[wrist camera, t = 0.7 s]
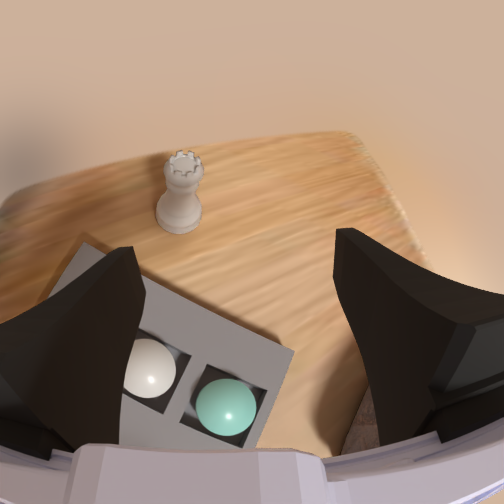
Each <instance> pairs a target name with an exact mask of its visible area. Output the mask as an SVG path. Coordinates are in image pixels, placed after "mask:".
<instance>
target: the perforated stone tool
mask: <svg viewBox="0 0 504 504" xmlns="http://www.w3.org/2000/svg"><path fill="white" fill-rule="evenodd" d="M378 447H380V443H379V436H378V428H377V422H376V416H375V410H374V405H373V400H372V395H371V391H370V386H368V388H367V390H366V393H365V395H364V397H363V399H362V402H361V404H360V406H359V409H358V411H357V413H356V416H355V418H354V420H353V423H352V425H351V428H350V431H349V432H348V434H347V437H346V441H345V444H344V446H343V449H342V452H341V455H346V454H351V453H356V452H360V451H365V450H369V449H374V448H378Z"/></svg>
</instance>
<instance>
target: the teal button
mask: <svg viewBox="0 0 504 504" xmlns="http://www.w3.org/2000/svg"><path fill="white" fill-rule="evenodd" d="M195 409H196V414H197V417H198V419H199V420H200V422H201V423H202V424H203V426H205V427H206V428H207V429H208V430H210V431H211V432H213V433H215V434H218V435H223V436H231V435H235V434H238V433H241V432H242V431H244V430H245V429H246V428H248V427H249V425H250V424H251V423H252V421H253V419H254V417H255V414H256V402H255V398H254V396H253V394H252V392H251V391H250V390H249V388H248V387H247V386H245V385H244V384H243V383H241V382H239V381H236V380H233V379H219V380H216V381H213V382H210V383H209V384H207V385H206V386H204V387H203V388H202V389H201V391H200V392H199V394H198V396H197V398H196V404H195Z"/></svg>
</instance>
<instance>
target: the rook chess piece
mask: <svg viewBox="0 0 504 504" xmlns="http://www.w3.org/2000/svg"><path fill="white" fill-rule="evenodd" d="M163 173H164V175H165V178H166V182H165V184H166V186H167V190H166V192H165V193H164V194H163V195H162V196H161V197H160V199H159V201H158V203H157V208H156V219H157V221H158V224H159V225H160V226H161V227H162V228H163V229H164V230H166V231H168V232H171V233H173V234H184V233H187V232H190V231H192V230H193V229H194V228H196V227H197V226H198V224H199V222H200V220H201V214H202V205H201V202H200V200H199V198H198V197H197V195H196V190H197V188H198V186H199V181H200V180H201V179H202V177H203V175H204V167H203V165H202V163H201V160H200V158H199V156H198V157H196V158H195V157H194V152H191V151H188V154H183V150H181V151H177V152H176V156H174V155H171V157H170V158H169V160H167V162H166V163H165V165H164V169H163Z"/></svg>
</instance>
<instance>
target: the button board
mask: <svg viewBox="0 0 504 504" xmlns="http://www.w3.org/2000/svg"><path fill="white" fill-rule="evenodd" d="M104 256H106V254H104V253H103V252H101V251H99V250H97V249H96V248H94V247H92V246H91V245H89V244H87V243H86V242H83V244H82V245H81V247H80V248H79V250H78V251H77V253H76V254H75V255H74V257H73V258H72V260H71V261H70V263H69V264H68V266H67V268H66V269H65V271H64V272H63V274H62V275H61V277H60V278H59V280H58V282H57V283H56V285H55V286H54V288H53V290H52V291H51V293H50V295H49V296H48V298H50V297H51V296H53V295H54V294H55V293H57V292H58V291H60V290H61V289H63V288H64V287H65V286H66V285H68V284H69V283H70V282H72V281H73V280H74V279H76V278H77V277H79V276H80V275H81V274H82V273H84V272H85V271H86V270H87V269H89V268H90V267H91V266H93V265H94V264H95V263H96V262H98V261H99V260H100V259H102V258H103V257H104ZM141 276H142V279H143V283H144V286H145V289H146V298H145V304H144V310H143V315H142V318H141V322H140V325H139V328H138V332H137V335H136V338H135V340H138V339H151V340H154V341H157V342H159V343H161V344H162V345H164V346H165V347H166V348H167V349H168V350H169V352H170V353H171V355H172V356H173V359H174V361H175V366H176V374H175V378H174V381H173V383H172V385H171V387H170V388H169V389H168V390H167V391H166V392H165V393H163V394H161V395H159V396H157V397H152V398H143V397H139V396H136V395H134V394H132V393H130V392H129V391H128V390H127V389H126V388H125V387H124V386H123V393H122V402H121V413H120V430H119V445H125V446H134V447H145V448H160V449H181V450H230V449H251V448H255V446H256V444H257V442H258V440H259V437H260V435H261V433H262V431H263V428H264V426H265V424H266V421H267V419H268V417H269V414H270V412H271V410H272V407H273V405H274V402H275V400H276V398H277V395H278V393H279V390H280V388H281V385H282V383H283V380H284V378H285V375H286V373H287V370H288V368H289V365H290V362H291V360H292V357H293V355H294V352H295V351H293V350H291V349H289V348H286V347H284V346H282V345H280V344H278V343H276V342H273V341H271V340H269V339H267V338H265V337H263V336H260V335H258V334H256V333H254V332H252V331H250V330H248V329H246V328H244V327H242V326H239V325H237V324H235V323H233V322H231V321H229V320H227V319H225V318H223V317H221V316H219V315H217V314H215V313H213V312H211V311H209V310H207V309H205V308H203V307H201V306H199V305H197V304H195V303H193V302H191V301H190V300H188V299H186V298H184V297H182V296H180V295H178V294H176V293H174V292H172V291H171V290H169V289H167V288H165V287H163V286H161V285H159V284H157V283H156V282H154V281H152V280H150V279H148V278H147V277H145V276H143V275H141ZM48 298H47V299H48ZM219 379H233V380H236V381H239V382H241V383H243V384H244V385H245V386H247V387H248V388H249V390H250V391H251V392H252V394H253V396H254V398H255V402H256V414H255V417H254V419H253V421H252V423H251V424H250V425H249V427H248V428H246V429H245V430H244V431H242V432H241V433H238V434H235V435H231V436H223V435H218V434H215V433H213V432H211V431H210V430H208V429H207V428H206V427H205V426H203V424H202V423H201V422H200V420H199V419H198V417H197V414H196V409H195V404H196V398H197V396H198V394H199V392H200V391H201V389H202V388H203V387H204V386H206V385H207V384H209V383H210V382H213V381H216V380H219Z"/></svg>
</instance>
